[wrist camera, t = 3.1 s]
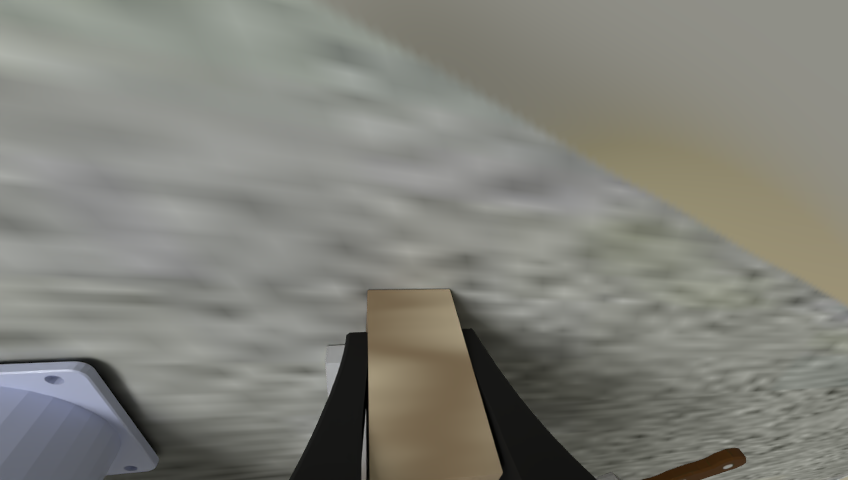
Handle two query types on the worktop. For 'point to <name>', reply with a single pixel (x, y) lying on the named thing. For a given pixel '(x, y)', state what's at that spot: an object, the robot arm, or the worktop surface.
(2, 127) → the worktop surface
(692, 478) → the kitchen knife
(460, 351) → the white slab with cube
